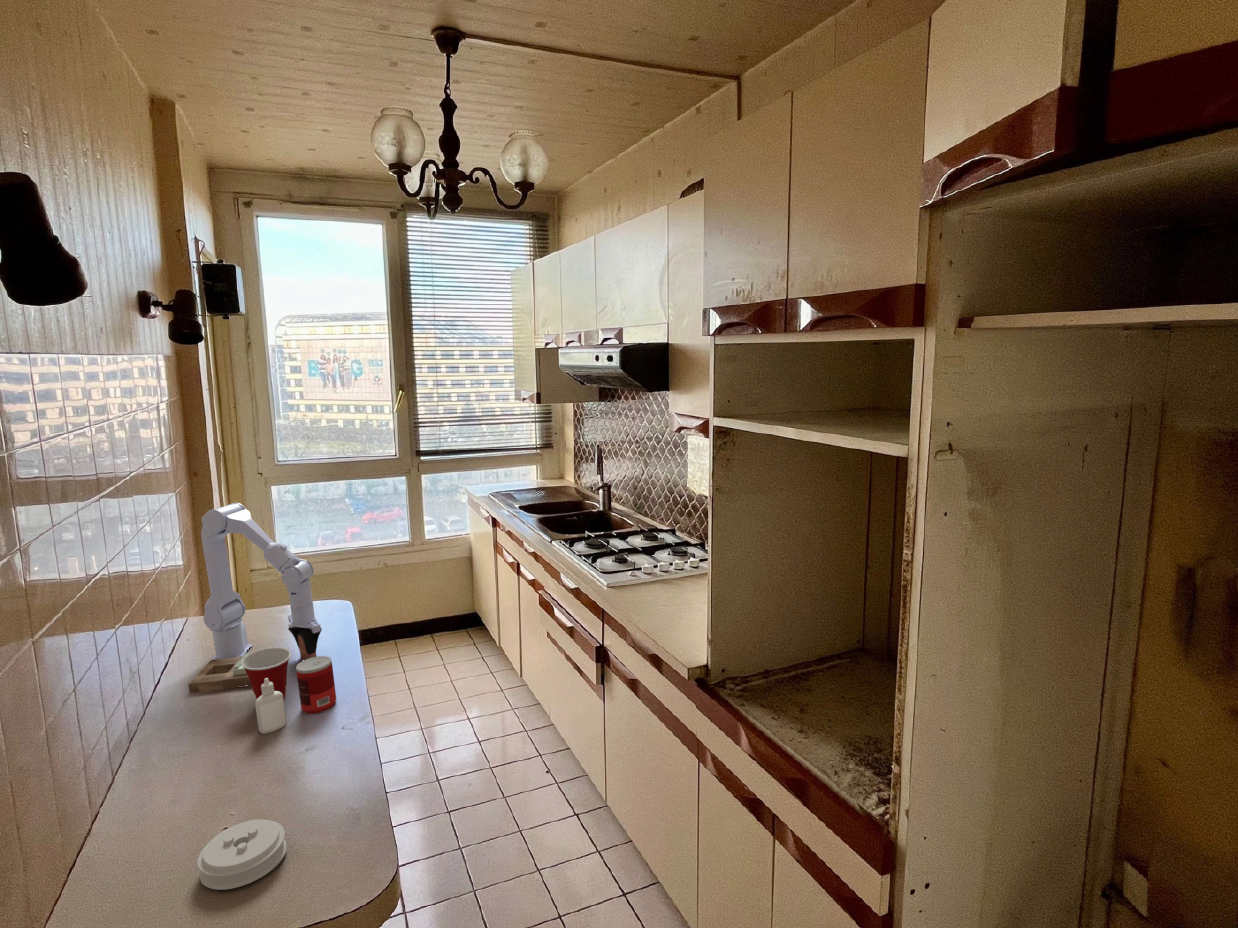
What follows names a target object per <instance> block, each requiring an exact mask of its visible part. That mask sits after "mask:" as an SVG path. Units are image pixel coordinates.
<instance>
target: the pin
mask: <svg viewBox="0 0 1238 928" xmlns="http://www.w3.org/2000/svg"><path fill="white" fill-rule="evenodd" d="M298 642H299V648H298V649H300V650H299V655H300V660H301V661H302V660H306V659H309V658H312V657H317V651H316V652H315V653H313V654H310V655H308V654H307V651H306V648H305V644H304V641H303V639H302V638H301V636H300V635H299V634H298Z"/></svg>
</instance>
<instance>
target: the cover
mask: <svg viewBox="0 0 1238 928" xmlns="http://www.w3.org/2000/svg"><path fill="white" fill-rule="evenodd" d="M251 653H252V652H246V654H245V655H244V656H243V657H242V659H243V658H244V657H246V656H247V655H248V654H251ZM242 659H241V660H240V661H239V662H238V663H237V664H236V666H235V667H234V669H233V675H240V674H247V673H246V671H245V668H243V666H242V665H241V661H242Z"/></svg>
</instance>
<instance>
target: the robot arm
mask: <svg viewBox="0 0 1238 928" xmlns="http://www.w3.org/2000/svg"><path fill="white" fill-rule="evenodd" d="M201 524H202V526H201V531H200V538H201V545H202V550H203V556H204V561H205V568H206V569H205V570H206V575H207V580H208V586H209V592H210V593H209V594H210V596H209V598H208V599H207V601H206V602H205V604H204V606H203V607H204V612H203V617H202V619H203V623H204V624H205V627H207V629H209V631H210V632H212V638H213V645H214V652H215V656H213V658H212V659H211V660H217V659H226V658H235V657H243V656H244V655H245V653H248V651H249V650H250V649H251V648H252V646H253V644H251V643H250V644H249V640H248V634H247V633H248V632H247V627H246V624H245V623H244V622H243V617H244V616H245V613H246V605H245V603H244V602H243V600H242V598H241V594H240V593H239V592H236V591H234V588H233V581H232V576H231V570H230V562H229V557H228V556H229V555H228V549H227V545H226V539H225V538H226V537H227V536H228V534H241V535H243V536H244V537H245V538H246V539H247V540H249V542H251V543H253V544H254V545H255V546H256V547H258V549H260V550H261V551H262V552H263V558H264V560H266V561H267V562H268V563H269V564H270V565H271V566H272V567H273V568H274V569H275V570H276V571H277V572H278V573H280V575H281V576H280V578H281V581H282V583H283V584H284V585H285V587H286V591H287V593H288V598H289V606H290V615H287V620H288V625H287V626H288V628H287V629H288V631H289V632H290V633H291V635H292V637H293V638H294V640H295V643H296V646H297V647H298V649H299V642H298V634H299V635H300V636H301V638H302V639H303V641H304V644H305V648H306V651H307V654H308V655H310V654H313V653H315V652H316V653H317V648H318V647H317V646H318V642H319V641H318V640H319V637H320V635H321V633H322V627H321V624H320V623H318V620H317V617H316V616H315V607H314V600H313V593H312V591H313V590H312V585H311V579H310V578H312V577H313V576H314V575H313V574H314V567H313V564H311V562H310V561H309V560H307V559H305V558H304V559H302V558H300V557H298V556H296V555H295V554H294V553H293V552H291V551H292V550H290V549H288V546H287V545H286V544H285V543H282V542H274V541H273V540H272V538H271V537H270V536H269V535H268V534H267V533H266V532H265V531H264V530H263V529H262V528H261V527H260V526H259V525H258V524H257V522H256V521H255V520H253V518H252V514H251V511H250V510H248V509H246V507H245V506H244V504H242V503H240V502H232V503H230V504H227V505H224V506H221V507H218V508H213V509H209V510H208V511H207V512H206V513H204V514H203V515H202V516H201ZM250 647H251V648H250ZM249 648H250V649H249ZM247 650H248V651H247ZM299 651H300V649H299Z"/></svg>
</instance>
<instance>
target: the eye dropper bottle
mask: <svg viewBox="0 0 1238 928" xmlns="http://www.w3.org/2000/svg"><path fill="white" fill-rule="evenodd" d="M261 689H262V695H261V696H260V697H259V698H258V699H256V700H255V702H254V704H255V713H256V719H257V726H258V731H259V732H260V734H263V735H266V734H270V733H274V732H276V731H278V730H279V729H282V728H284V727H285V726H286V725H287V722H288V721H287V715H286V706H285V700H284V699H283V694H282V693H281V692H279V691H274V686H273V683H272V682H269V680H268V678H265V679H264V684H262V685H261Z"/></svg>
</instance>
